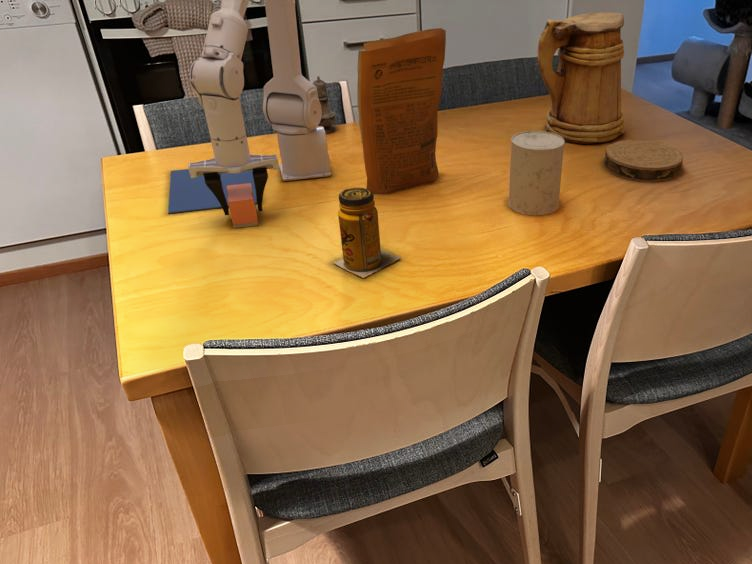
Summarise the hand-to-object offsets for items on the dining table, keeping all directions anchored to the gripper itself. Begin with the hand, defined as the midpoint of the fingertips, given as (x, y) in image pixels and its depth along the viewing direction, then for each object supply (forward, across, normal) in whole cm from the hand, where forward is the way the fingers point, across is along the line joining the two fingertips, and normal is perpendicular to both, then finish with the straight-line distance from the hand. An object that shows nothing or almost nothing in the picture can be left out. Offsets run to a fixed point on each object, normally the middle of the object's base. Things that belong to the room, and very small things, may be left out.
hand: (243, 211), depth 123 cm
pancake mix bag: (+2, +31, +6) cm, 32 cm away
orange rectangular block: (+1, 0, 0) cm, 1 cm away
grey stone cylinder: (+2, +52, -8) cm, 53 cm away
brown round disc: (+2, +81, +2) cm, 81 cm away
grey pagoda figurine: (+2, +20, +42) cm, 47 cm away
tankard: (+2, +76, +26) cm, 80 cm away
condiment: (+2, +18, -22) cm, 28 cm away
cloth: (+1, -5, +16) cm, 16 cm away
